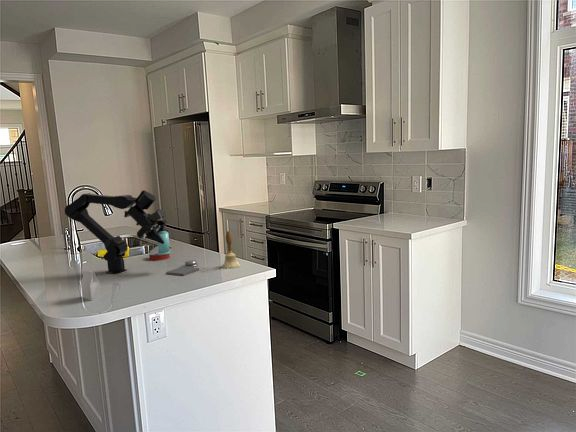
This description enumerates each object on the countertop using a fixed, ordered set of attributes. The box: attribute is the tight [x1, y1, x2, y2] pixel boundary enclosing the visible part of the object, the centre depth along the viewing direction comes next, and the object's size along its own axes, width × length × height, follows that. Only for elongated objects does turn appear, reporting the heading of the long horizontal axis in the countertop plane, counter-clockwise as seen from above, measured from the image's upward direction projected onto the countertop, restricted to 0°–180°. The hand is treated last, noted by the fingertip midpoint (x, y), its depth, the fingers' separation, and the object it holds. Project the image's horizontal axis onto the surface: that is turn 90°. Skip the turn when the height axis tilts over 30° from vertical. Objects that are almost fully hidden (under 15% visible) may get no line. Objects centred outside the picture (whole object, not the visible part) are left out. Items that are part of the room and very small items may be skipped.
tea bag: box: [80, 269, 102, 302], centre depth 162 cm, size 4×7×10 cm, turn 50°
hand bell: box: [221, 230, 241, 269], centre depth 199 cm, size 8×8×16 cm
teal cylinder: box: [157, 230, 171, 255], centre depth 194 cm, size 6×6×10 cm
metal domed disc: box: [183, 259, 199, 268], centre depth 204 cm, size 6×6×2 cm
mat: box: [165, 266, 200, 277], centre depth 194 cm, size 10×10×1 cm
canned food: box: [148, 245, 171, 262], centre depth 224 cm, size 11×10×10 cm
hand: (166, 241), depth 194 cm, fingers closed on teal cylinder, 5 cm apart
